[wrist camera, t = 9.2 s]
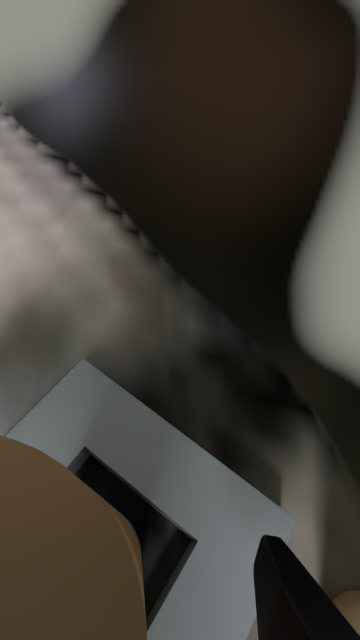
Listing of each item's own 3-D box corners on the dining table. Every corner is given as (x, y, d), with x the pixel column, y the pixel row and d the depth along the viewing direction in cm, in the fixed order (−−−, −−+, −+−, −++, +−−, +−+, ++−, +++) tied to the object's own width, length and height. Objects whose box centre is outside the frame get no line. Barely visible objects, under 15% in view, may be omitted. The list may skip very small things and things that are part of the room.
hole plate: (280, 521, 16) (297, 520, 14) (103, 909, 10) (96, 989, 8) (88, 373, 18) (83, 358, 17) (-137, 607, 13) (-179, 620, 11)
